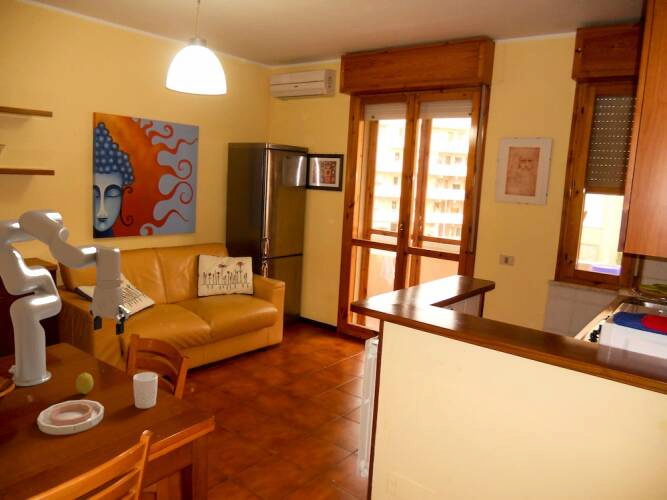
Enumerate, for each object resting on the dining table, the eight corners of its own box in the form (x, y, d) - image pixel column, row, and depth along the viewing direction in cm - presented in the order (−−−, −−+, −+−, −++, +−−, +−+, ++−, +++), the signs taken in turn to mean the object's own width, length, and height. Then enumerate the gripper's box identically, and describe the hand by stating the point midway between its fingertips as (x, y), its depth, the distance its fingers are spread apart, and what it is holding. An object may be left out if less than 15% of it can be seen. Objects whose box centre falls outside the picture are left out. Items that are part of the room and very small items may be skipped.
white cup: (162, 401, 172) (162, 374, 171) (147, 411, 165) (147, 382, 163) (144, 397, 174) (144, 370, 173) (128, 406, 167) (127, 378, 166)
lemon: (96, 391, 177) (96, 370, 176) (87, 398, 172) (87, 376, 170) (82, 390, 177) (81, 368, 176) (72, 396, 172) (72, 374, 171)
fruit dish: (24, 429, 149) (23, 420, 149) (68, 403, 167) (67, 395, 166) (75, 439, 146) (75, 429, 145) (115, 411, 163) (115, 403, 163)
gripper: (80, 282, 168) (80, 330, 170) (120, 288, 162) (120, 338, 165) (97, 278, 175) (97, 324, 177) (136, 284, 169) (136, 332, 172)
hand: (108, 331), depth 171 cm, fingers open, 9 cm apart
